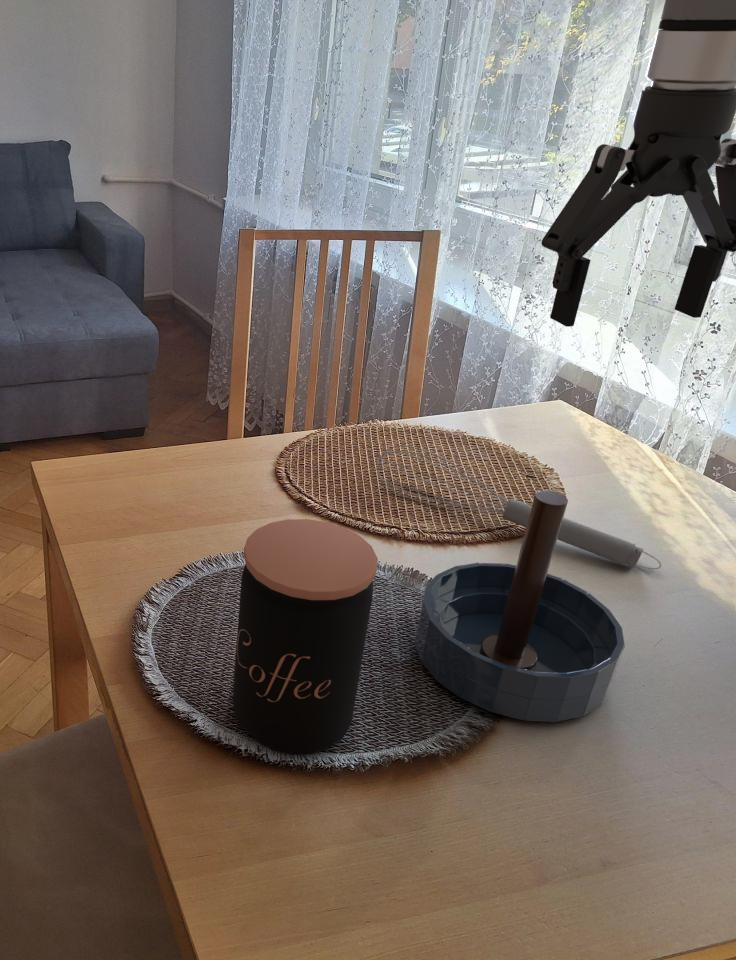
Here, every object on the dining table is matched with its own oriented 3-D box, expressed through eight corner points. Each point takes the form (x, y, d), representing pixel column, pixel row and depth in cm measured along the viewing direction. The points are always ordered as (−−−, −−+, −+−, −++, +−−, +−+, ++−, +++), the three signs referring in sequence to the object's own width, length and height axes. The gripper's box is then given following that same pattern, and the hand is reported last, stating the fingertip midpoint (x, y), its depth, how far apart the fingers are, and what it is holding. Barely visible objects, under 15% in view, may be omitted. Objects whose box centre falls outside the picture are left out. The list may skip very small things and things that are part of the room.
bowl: (599, 631, 88) (615, 584, 85) (613, 750, 74) (633, 698, 71) (422, 594, 94) (431, 548, 91) (405, 697, 80) (415, 647, 77)
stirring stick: (535, 647, 85) (581, 489, 76) (536, 679, 81) (585, 517, 72) (481, 635, 87) (520, 479, 78) (479, 666, 83) (520, 506, 74)
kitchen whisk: (651, 587, 94) (668, 539, 91) (364, 492, 114) (370, 449, 111) (664, 563, 98) (681, 516, 95) (384, 474, 118) (390, 433, 115)
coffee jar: (208, 717, 79) (217, 553, 70) (276, 660, 85) (292, 505, 76) (307, 781, 72) (331, 609, 63) (373, 715, 78) (403, 551, 70)
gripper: (785, 76, 80) (710, 298, 90) (534, 86, 77) (487, 313, 88) (857, 83, 73) (768, 321, 84) (587, 93, 71) (529, 338, 81)
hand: (624, 318), depth 86 cm, fingers open, 13 cm apart
